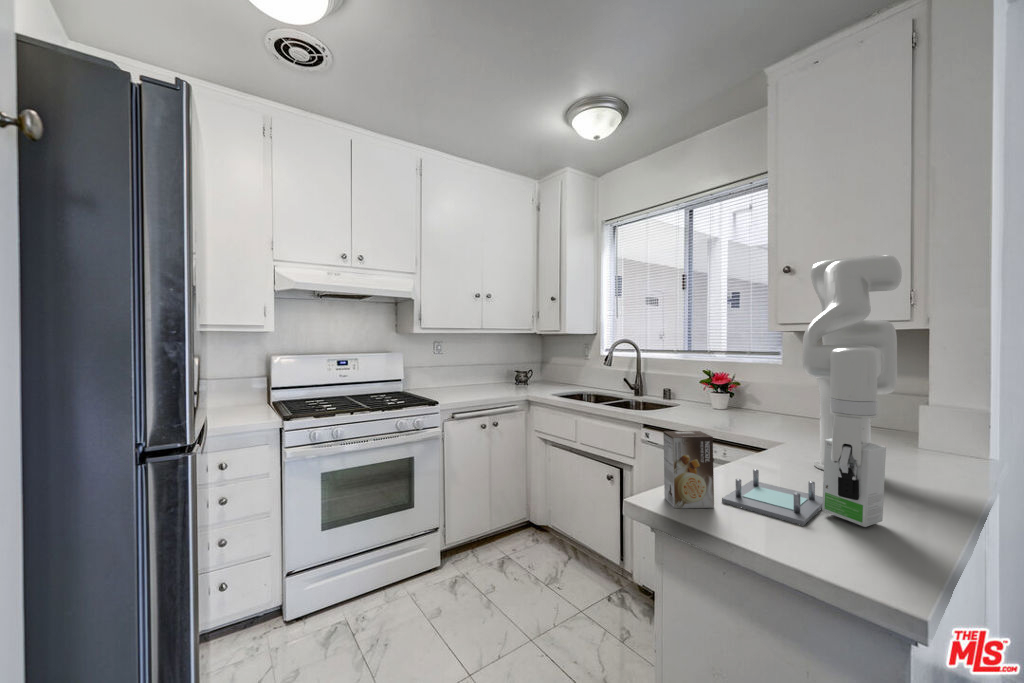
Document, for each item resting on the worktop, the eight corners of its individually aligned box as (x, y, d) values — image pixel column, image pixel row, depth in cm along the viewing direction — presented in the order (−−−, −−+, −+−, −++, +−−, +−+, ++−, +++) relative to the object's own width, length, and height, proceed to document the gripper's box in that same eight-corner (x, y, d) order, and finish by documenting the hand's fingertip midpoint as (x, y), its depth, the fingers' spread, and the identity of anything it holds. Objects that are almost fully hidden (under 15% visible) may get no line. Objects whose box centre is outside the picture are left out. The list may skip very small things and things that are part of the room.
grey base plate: (752, 484, 107) (751, 479, 107) (827, 502, 95) (827, 497, 95) (721, 502, 96) (721, 497, 96) (803, 526, 83) (803, 520, 83)
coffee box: (701, 497, 99) (701, 430, 99) (714, 508, 92) (714, 436, 92) (663, 497, 99) (662, 430, 99) (673, 509, 92) (673, 437, 92)
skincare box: (821, 511, 89) (821, 439, 88) (839, 505, 91) (839, 435, 91) (867, 528, 81) (868, 449, 80) (886, 521, 83) (886, 444, 83)
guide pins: (754, 484, 104) (754, 468, 104) (815, 499, 94) (815, 482, 94) (734, 496, 96) (734, 479, 96) (799, 514, 87) (799, 495, 87)
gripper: (840, 400, 94) (840, 477, 94) (819, 411, 83) (819, 498, 83) (884, 404, 88) (884, 486, 89) (868, 416, 77) (867, 510, 77)
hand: (852, 491), depth 86 cm, fingers closed on skincare box, 7 cm apart
